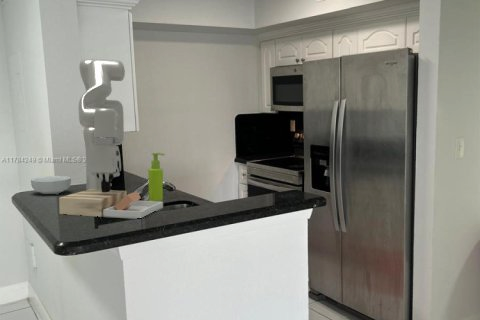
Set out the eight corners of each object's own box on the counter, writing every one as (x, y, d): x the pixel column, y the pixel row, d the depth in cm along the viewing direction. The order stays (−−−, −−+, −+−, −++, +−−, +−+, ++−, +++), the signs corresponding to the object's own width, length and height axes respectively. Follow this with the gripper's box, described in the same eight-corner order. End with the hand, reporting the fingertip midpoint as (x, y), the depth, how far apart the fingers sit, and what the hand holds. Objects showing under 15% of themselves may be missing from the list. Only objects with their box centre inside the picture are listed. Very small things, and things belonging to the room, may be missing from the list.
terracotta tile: (136, 191, 166) (141, 197, 166) (123, 202, 168) (127, 208, 168) (127, 194, 160) (132, 201, 159) (113, 205, 161) (118, 212, 161)
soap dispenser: (162, 201, 186) (161, 153, 185) (146, 200, 188) (146, 153, 186) (167, 199, 192) (167, 152, 190) (151, 198, 193) (151, 152, 192)
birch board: (89, 204, 179) (89, 189, 178) (126, 206, 175) (126, 191, 175) (59, 214, 159) (59, 197, 159) (100, 216, 156) (100, 199, 155)
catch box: (129, 206, 175) (129, 200, 175) (162, 208, 172) (162, 201, 172) (103, 216, 156) (103, 209, 156) (141, 219, 153) (141, 211, 153)
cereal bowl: (36, 191, 210) (35, 176, 209) (73, 190, 213) (73, 175, 213) (27, 197, 193) (26, 180, 193) (67, 196, 197) (67, 180, 196)
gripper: (128, 142, 166) (129, 191, 168) (92, 141, 169) (93, 189, 171) (119, 143, 159) (119, 194, 160) (81, 142, 162) (82, 192, 164)
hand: (106, 191), depth 166 cm, fingers closed
